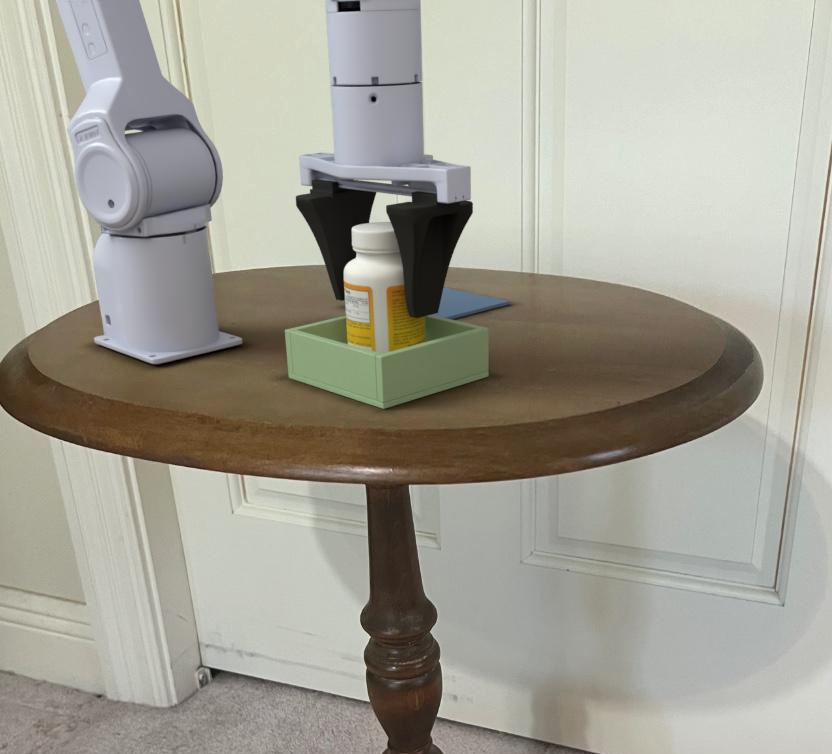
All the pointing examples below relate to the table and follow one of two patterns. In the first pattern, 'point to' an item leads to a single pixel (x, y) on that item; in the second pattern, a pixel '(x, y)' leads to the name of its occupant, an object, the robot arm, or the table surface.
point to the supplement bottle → (378, 293)
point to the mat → (465, 303)
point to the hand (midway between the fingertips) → (385, 306)
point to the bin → (388, 361)
